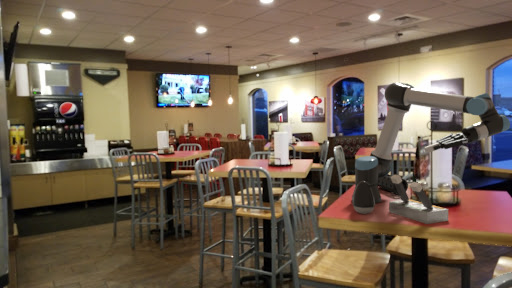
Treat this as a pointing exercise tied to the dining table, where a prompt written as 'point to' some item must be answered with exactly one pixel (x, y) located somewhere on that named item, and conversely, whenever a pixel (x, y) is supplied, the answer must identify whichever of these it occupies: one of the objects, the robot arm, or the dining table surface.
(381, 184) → the muzzle brake
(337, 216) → the dining table surface
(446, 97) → the robot arm
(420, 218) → the switch panel
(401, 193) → the lever
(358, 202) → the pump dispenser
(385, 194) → the dining table surface
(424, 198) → the lever
